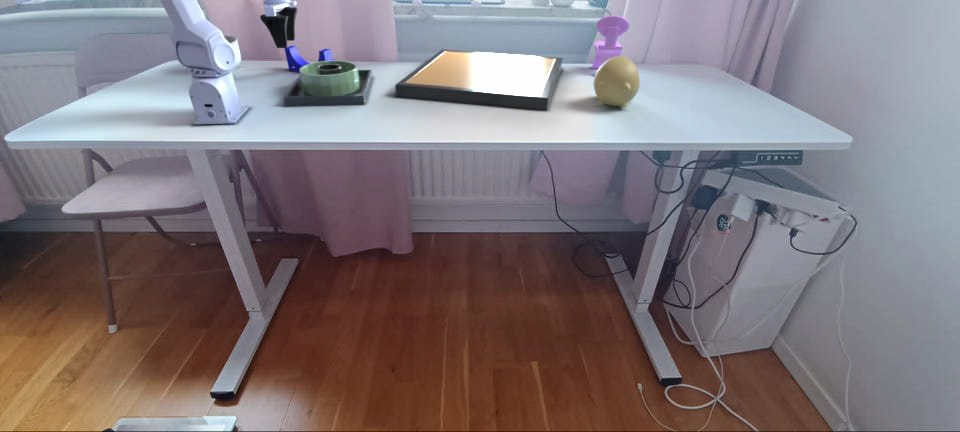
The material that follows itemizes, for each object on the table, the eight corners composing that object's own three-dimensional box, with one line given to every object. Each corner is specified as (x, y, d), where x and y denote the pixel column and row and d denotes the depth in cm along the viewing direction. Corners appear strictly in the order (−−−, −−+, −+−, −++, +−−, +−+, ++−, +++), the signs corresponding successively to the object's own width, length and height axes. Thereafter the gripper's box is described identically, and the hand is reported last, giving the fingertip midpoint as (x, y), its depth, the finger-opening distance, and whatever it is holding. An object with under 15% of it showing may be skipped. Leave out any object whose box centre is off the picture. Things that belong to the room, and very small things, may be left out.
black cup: (342, 91, 109) (339, 70, 106) (318, 92, 108) (314, 70, 106) (345, 84, 114) (342, 63, 111) (322, 84, 113) (318, 64, 110)
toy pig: (631, 121, 106) (641, 81, 108) (636, 94, 95) (648, 50, 97) (588, 114, 109) (600, 75, 111) (588, 86, 97) (601, 43, 100)
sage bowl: (357, 98, 106) (354, 75, 103) (298, 100, 105) (293, 76, 102) (363, 81, 117) (360, 59, 114) (310, 83, 116) (305, 60, 113)
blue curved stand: (337, 70, 126) (333, 47, 123) (327, 75, 122) (323, 51, 119) (299, 66, 129) (294, 44, 125) (289, 70, 125) (284, 48, 122)
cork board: (442, 59, 137) (396, 96, 108) (441, 49, 135) (395, 84, 106) (561, 68, 130) (546, 110, 101) (562, 58, 128) (547, 98, 99)
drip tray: (364, 104, 103) (363, 95, 102) (285, 106, 102) (283, 97, 100) (372, 77, 121) (371, 69, 120) (305, 78, 119) (303, 70, 118)
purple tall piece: (617, 68, 131) (627, 11, 123) (622, 77, 123) (632, 17, 115) (587, 67, 131) (595, 10, 123) (590, 75, 124) (599, 16, 116)
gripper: (283, -17, 96) (296, 51, 103) (298, -24, 108) (309, 37, 115) (248, -17, 95) (264, 51, 103) (267, -24, 107) (280, 37, 115)
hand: (286, 44), depth 109 cm, fingers open, 7 cm apart
